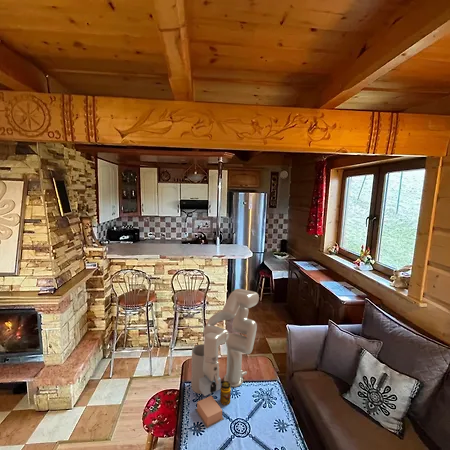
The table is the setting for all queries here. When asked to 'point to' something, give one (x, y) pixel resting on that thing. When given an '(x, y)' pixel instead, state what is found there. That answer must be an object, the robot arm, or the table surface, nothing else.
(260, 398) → the table surface
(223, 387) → the condiment
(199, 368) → the cylinder vase
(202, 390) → the brick
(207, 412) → the brick
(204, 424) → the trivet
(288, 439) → the table surface
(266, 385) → the table surface
